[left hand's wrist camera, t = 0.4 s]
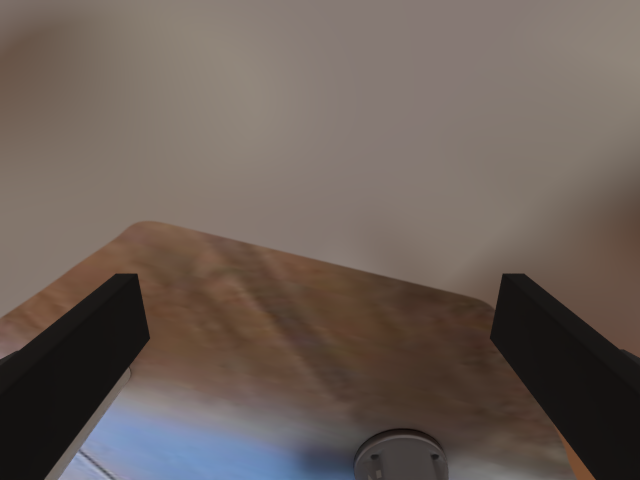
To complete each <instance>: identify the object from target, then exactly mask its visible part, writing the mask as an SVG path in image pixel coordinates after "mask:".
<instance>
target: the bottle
mask: <svg viewBox="0 0 640 480" xmlns="http://www.w3.org/2000/svg"><path fill="white" fill-rule="evenodd" d="M130 375H131V372H130V369H129V367H128V368H127V370H126V371H125V372H124V374H123V375H122V376H121V378H120V379H119V380H118V382H117V383H116V384H115V386H114V387H113V388H112V390H111V391H110V392H109V394H108V395H107V396H106V398H105V399H104V400H103V402H102V403H101V404H100V406H99V407H98V409H97V410H96V411H95V413H94V414H93V415H92V417H91V418H90V419H89V421H88V422H87V423H86V425H85V426H84V427H83V429H82V430H81V431H80V433H79V434H78V435H77V437H76V438H75V439H74V441H73V442H72V443H71V445H70V446H69V447H68V449H67V450H66V451H65V453H64V454H63V455H62V457H61V458H60V459H59V461H58V462H57V463H56V465H55V466H54V467H53V469H52V470H51V471H50V473H49V474H48V475H47V477H46V478H45V479H44V480H58V479H59V477H60V476H61V474H62V473H63V472H64V470H65V469H66V467H67V466H68V465H69V463H70V462H71V460H72V459H73V457H74V456H75V455H76V453H77V452H78V450H79V449H80V448H81V446H82V445H83V443H84V442H85V441H86V439H87V438H88V436H89V435H90V433H91V432H92V431H93V429H94V428H95V426H96V425H97V424H98V422H99V421H100V419H101V418H102V417H103V415H104V414H105V412H106V411H107V410H108V408H109V407H110V405H111V404H112V402H113V401H114V400H115V398H116V397H117V395H118V394H119V393H120V391H121V390H122V388H123V387H124V386H125V384H126V383H127V381H128V380H129V378H130Z"/></svg>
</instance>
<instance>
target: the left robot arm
mask: <svg viewBox="0 0 640 480" xmlns="http://www.w3.org/2000/svg"><path fill="white" fill-rule="evenodd" d="M149 339H150V336H149V331H148V326H147V320H146V315H145V310H144V305H143V300H142V295H141V290H140V285H139V280H138V275H137V274H115V275H114V276H112V277H111V278H110V279H109V280H107V281H106V282H105V283H104V284H102V285H101V286H100V287H99V288H97V289H96V290H95V291H94V292H92V293H91V294H90V295H88V296H87V297H86V298H85V299H83V300H82V301H81V302H80V303H78V304H77V305H76V306H75V307H73V308H72V309H71V310H70V311H68V312H67V313H66V314H65V315H63V316H62V317H61V318H60V319H58V320H57V321H56V322H55V323H53V324H52V325H51V326H49V327H48V328H47V329H46V330H44V331H43V332H42V333H41V334H39V335H38V336H37V337H36V338H34V339H33V340H32V341H31V342H29V343H28V344H27V345H26V346H24V347H23V348H22V349H21V350H19V351H15V352H14V353H12V354H10V355H8V356H6V357H4V358H2V359H0V480H44V479H45V478H46V477H47V475H48V474H49V473H50V471H51V470H52V469H53V467H54V466H55V465H56V463H57V462H58V461H59V459H60V458H61V457H62V455H63V454H64V453H65V451H66V450H67V449H68V447H69V446H70V445H71V443H72V442H73V441H74V439H75V438H76V437H77V435H78V434H79V433H80V431H81V430H82V429H83V427H84V426H85V425H86V423H87V422H88V421H89V419H90V418H91V417H92V415H93V414H94V413H95V411H96V410H97V409H98V407H99V406H100V404H101V403H102V402H103V400H104V399H105V398H106V396H107V395H108V394H109V392H110V391H111V390H112V388H113V387H114V386H115V384H116V383H117V382H118V380H119V379H120V378H121V376H122V375H123V374H124V372H125V371H126V370H127V368H128V367H129V366H130V364H131V363H132V362H133V360H134V359H135V358H136V356H137V355H138V354H139V352H140V351H141V350H142V348H143V347H144V346H145V344H146V343H147V342H148V340H149ZM490 339H491V340H492V342H493V343H494V344H495V346H496V347H497V348H498V350H499V351H500V352H501V354H502V355H503V356H504V358H505V359H506V360H507V362H508V363H509V364H510V366H511V367H512V368H513V370H514V371H515V372H516V374H517V375H518V376H519V378H520V379H521V380H522V382H523V383H524V384H525V386H526V387H527V388H528V390H529V391H530V392H531V394H532V395H533V396H534V398H535V399H536V400H537V402H538V403H539V404H540V406H541V407H542V409H543V410H544V411H545V413H546V414H547V415H548V417H549V418H550V419H551V421H552V422H553V423H554V425H555V426H556V427H557V429H558V430H559V431H560V433H561V434H562V435H563V436H564V438H565V439H566V441H567V442H568V443H569V445H570V446H571V447H572V449H573V450H574V451H575V453H576V454H577V455H578V457H579V458H580V459H581V461H582V462H583V463H584V465H585V466H586V467H587V469H588V470H589V471H590V473H591V474H592V475H593V477H594V478H595V479H596V480H640V358H639V357H637V356H635V355H633V354H631V353H629V352H627V351H625V350H619V349H618V348H617V347H616V346H614V345H613V344H612V343H611V342H609V341H608V340H607V339H606V338H604V337H603V336H602V335H601V334H599V333H598V332H597V331H596V330H594V329H593V328H592V327H591V326H589V325H588V324H587V323H585V322H584V321H583V320H582V319H580V318H579V317H578V316H577V315H575V314H574V313H573V312H572V311H570V310H569V309H568V308H567V307H565V306H564V305H563V304H562V303H560V302H559V301H558V300H557V299H555V298H554V297H553V296H551V295H550V294H549V293H548V292H546V291H545V290H544V289H543V288H541V287H540V286H539V285H538V284H536V283H535V282H534V281H533V280H531V279H530V278H529V277H528V276H526V275H525V274H503V275H502V280H501V285H500V290H499V295H498V300H497V305H496V310H495V315H494V320H493V325H492V331H491V336H490ZM354 474H355V479H356V480H448V465H447V461H446V458H445V455H444V452H443V450H442V448H441V446H440V445H439V444H438V442H437V441H435V440H434V439H433V438H432V437H430V436H428V435H426V434H424V433H421V432H418V431H413V430H392V431H387V432H384V433H381V434H378V435H376V436H374V437H372V438H371V439H369V440H368V441H366V442H365V443H364V444H363V445H362V446H361V447H360V449H359V450H358V452H357V453H356V456H355V459H354Z"/></svg>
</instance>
